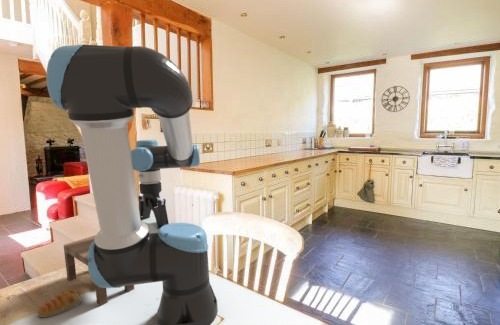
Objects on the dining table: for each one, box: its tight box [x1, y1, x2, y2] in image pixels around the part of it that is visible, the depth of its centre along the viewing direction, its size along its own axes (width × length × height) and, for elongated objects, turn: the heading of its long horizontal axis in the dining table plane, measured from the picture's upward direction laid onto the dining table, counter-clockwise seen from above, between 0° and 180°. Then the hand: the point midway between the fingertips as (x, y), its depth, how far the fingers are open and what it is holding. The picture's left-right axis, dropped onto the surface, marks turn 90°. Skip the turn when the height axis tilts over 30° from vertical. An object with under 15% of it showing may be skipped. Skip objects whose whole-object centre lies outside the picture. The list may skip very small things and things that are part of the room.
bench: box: [63, 234, 135, 307], centre depth 85 cm, size 24×10×12 cm, turn 52°
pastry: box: [37, 288, 82, 318], centre depth 74 cm, size 9×7×4 cm
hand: (154, 241), depth 102 cm, fingers closed on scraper, 8 cm apart
